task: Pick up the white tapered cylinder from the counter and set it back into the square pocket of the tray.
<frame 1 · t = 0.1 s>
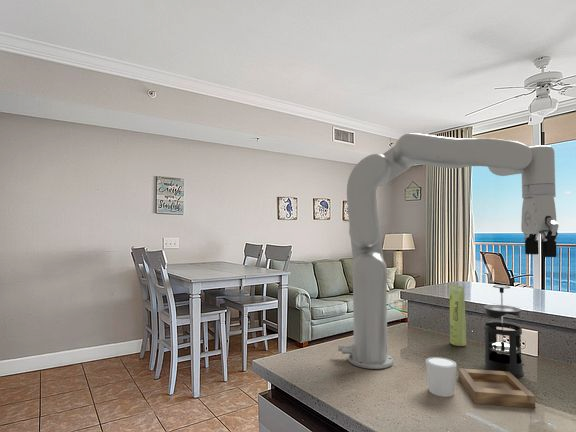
hand: (540, 255, 100), 31 cm above the worktop, tool pointing down, fingers open, 9 cm apart
french press: (502, 370, 101), on the worktop
tray: (493, 391, 88), on the worktop
white tapered cylinder: (441, 392, 88), on the worktop
tube: (458, 344, 124), on the worktop
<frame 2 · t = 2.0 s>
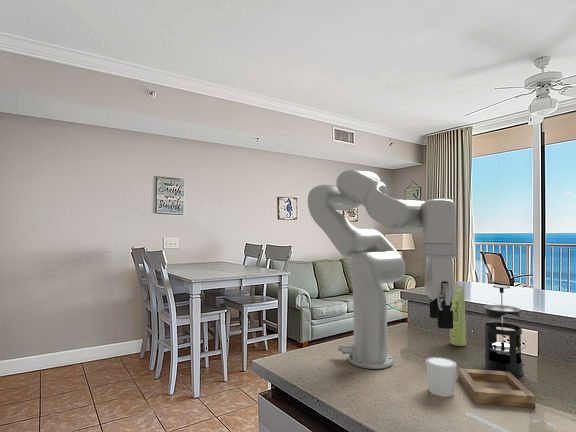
hand: (440, 322, 89), 16 cm above the worktop, tool pointing down, fingers open, 9 cm apart
nothing on the worktop moved.
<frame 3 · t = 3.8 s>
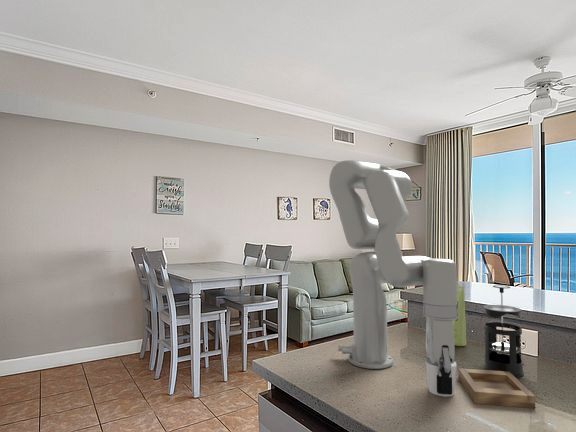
hand: (441, 386, 88), 1 cm above the worktop, tool pointing down, fingers closed on white tapered cylinder, 6 cm apart
white tapered cylinder: (441, 392, 88), on the worktop, touching gripper
everything else where it was.
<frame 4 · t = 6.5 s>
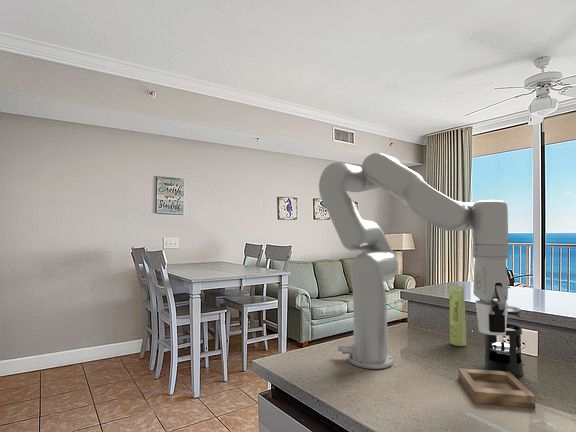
hand: (491, 327, 88), 15 cm above the worktop, tool pointing down, fingers closed on white tapered cylinder, 6 cm apart
white tapered cylinder: (492, 332, 88), point 14 cm above the worktop, touching gripper
everything else where it was.
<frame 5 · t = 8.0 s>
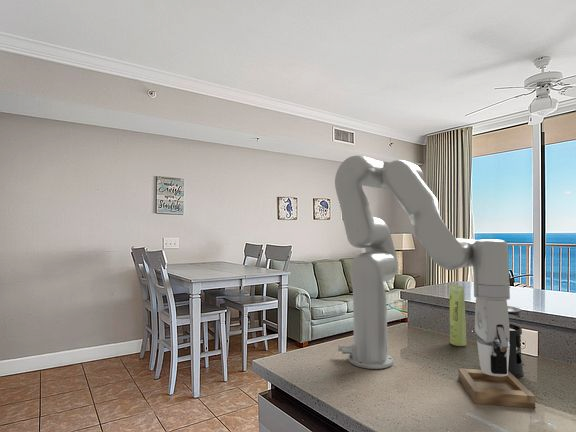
hand: (493, 367, 88), 6 cm above the worktop, tool pointing down, fingers closed on white tapered cylinder, 6 cm apart
white tapered cylinder: (494, 372, 88), point 4 cm above the worktop, touching gripper
everything else where it was.
when the fingers open (4 cm above the worktop, at t = 9.1 s): white tapered cylinder stays where it is, resting on tray.
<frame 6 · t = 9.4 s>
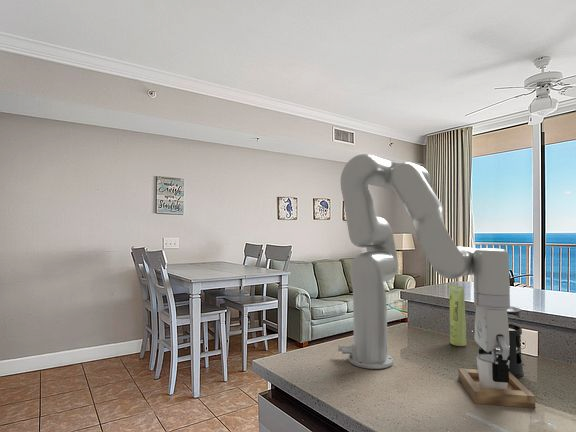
hand: (493, 373, 88), 4 cm above the worktop, tool pointing down, fingers open, 9 cm apart
white tapered cylinder: (493, 389, 87), point 1 cm above the worktop, touching tray
everything else where it was.
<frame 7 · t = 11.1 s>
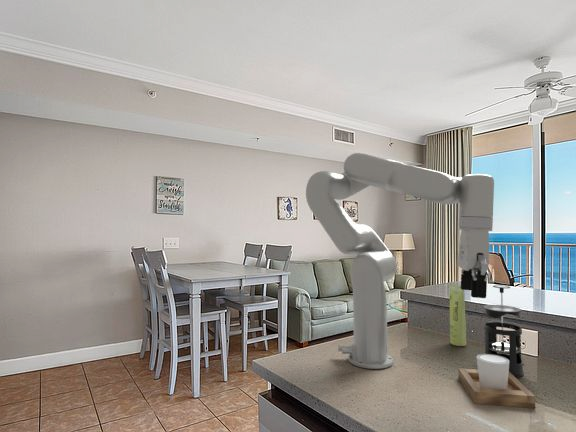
hand: (472, 293, 92), 22 cm above the worktop, tool pointing down, fingers open, 9 cm apart
nothing on the worktop moved.
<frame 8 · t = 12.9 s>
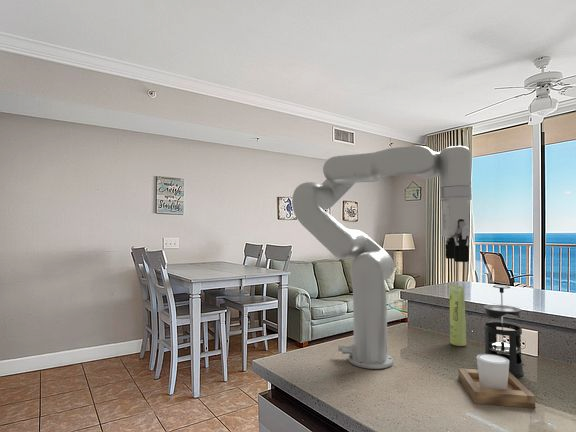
hand: (456, 260, 97), 30 cm above the worktop, tool pointing down, fingers open, 9 cm apart
nothing on the worktop moved.
at the end: white tapered cylinder 0.5 cm off-centre on the tray, point 0.8 cm above the tray's base; white tapered cylinder tilted 0°; the gripper is holding nothing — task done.
